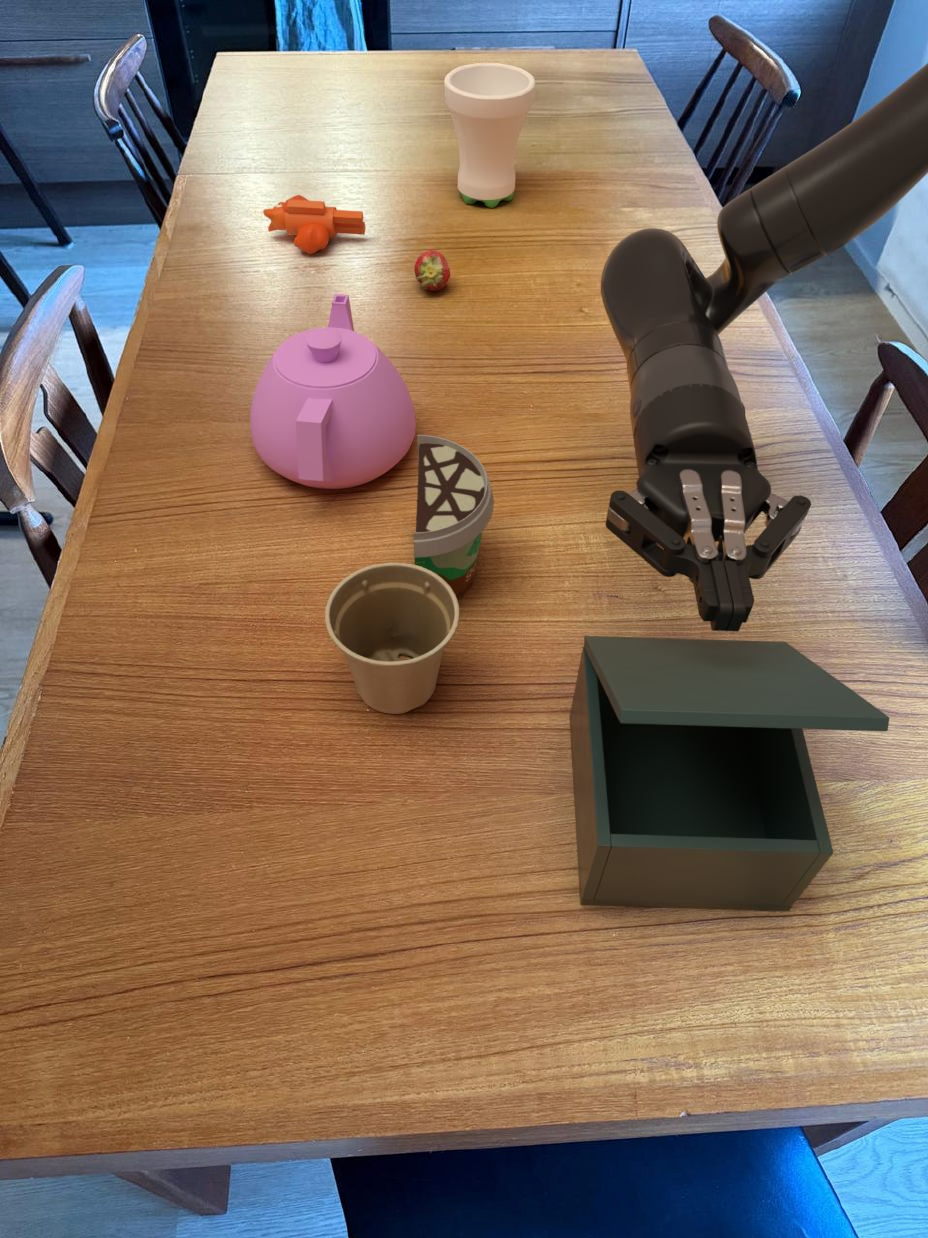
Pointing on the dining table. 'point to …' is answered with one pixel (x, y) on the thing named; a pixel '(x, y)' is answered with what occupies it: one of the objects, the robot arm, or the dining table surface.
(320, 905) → the dining table surface
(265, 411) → the teapot
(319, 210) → the orange long irregular piece
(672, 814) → the caddy
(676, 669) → the lid
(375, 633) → the flower pot
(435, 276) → the fruit
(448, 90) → the cup
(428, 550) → the food container
